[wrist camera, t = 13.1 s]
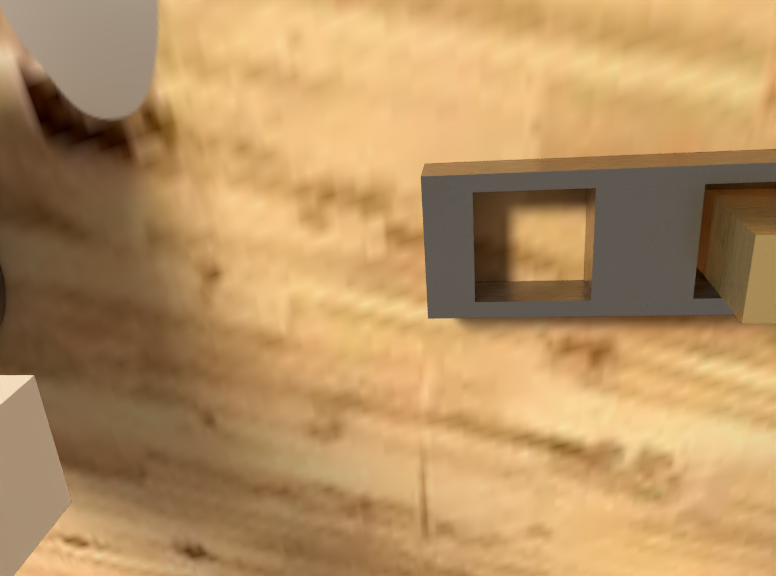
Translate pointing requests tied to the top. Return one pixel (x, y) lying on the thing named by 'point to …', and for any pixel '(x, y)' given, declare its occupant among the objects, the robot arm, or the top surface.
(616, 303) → the gray slotted rack
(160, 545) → the top surface
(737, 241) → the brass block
